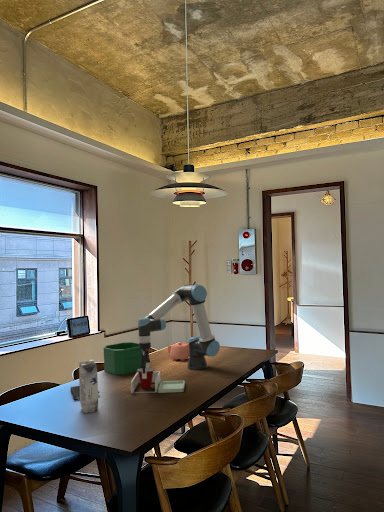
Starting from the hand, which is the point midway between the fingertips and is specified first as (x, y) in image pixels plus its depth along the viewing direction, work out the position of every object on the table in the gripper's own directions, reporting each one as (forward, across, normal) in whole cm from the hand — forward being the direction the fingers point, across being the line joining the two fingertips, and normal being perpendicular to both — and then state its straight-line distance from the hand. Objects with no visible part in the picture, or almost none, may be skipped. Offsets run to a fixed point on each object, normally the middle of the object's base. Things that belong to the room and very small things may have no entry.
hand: (146, 375), depth 254 cm
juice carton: (+8, +38, -26) cm, 47 cm away
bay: (+8, 0, 0) cm, 8 cm away
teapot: (+8, -75, +18) cm, 78 cm away
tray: (+8, +3, +17) cm, 18 cm away
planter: (+8, -49, -24) cm, 55 cm away
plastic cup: (+8, 0, 0) cm, 8 cm away
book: (+9, +8, -38) cm, 39 cm away
